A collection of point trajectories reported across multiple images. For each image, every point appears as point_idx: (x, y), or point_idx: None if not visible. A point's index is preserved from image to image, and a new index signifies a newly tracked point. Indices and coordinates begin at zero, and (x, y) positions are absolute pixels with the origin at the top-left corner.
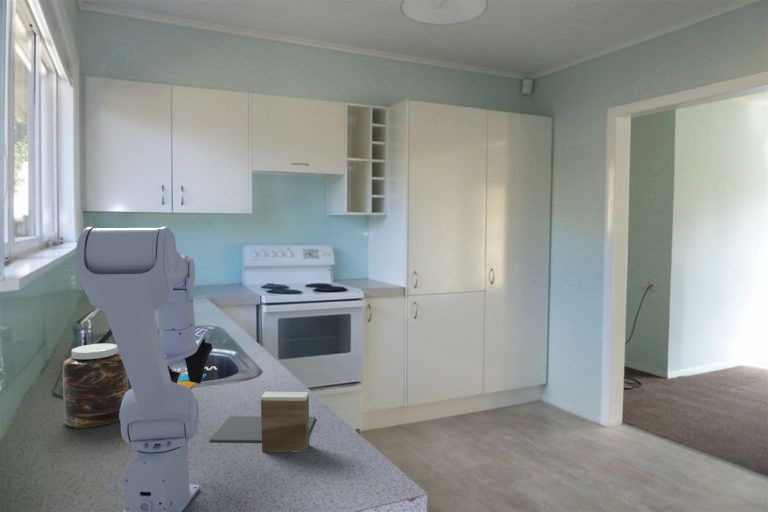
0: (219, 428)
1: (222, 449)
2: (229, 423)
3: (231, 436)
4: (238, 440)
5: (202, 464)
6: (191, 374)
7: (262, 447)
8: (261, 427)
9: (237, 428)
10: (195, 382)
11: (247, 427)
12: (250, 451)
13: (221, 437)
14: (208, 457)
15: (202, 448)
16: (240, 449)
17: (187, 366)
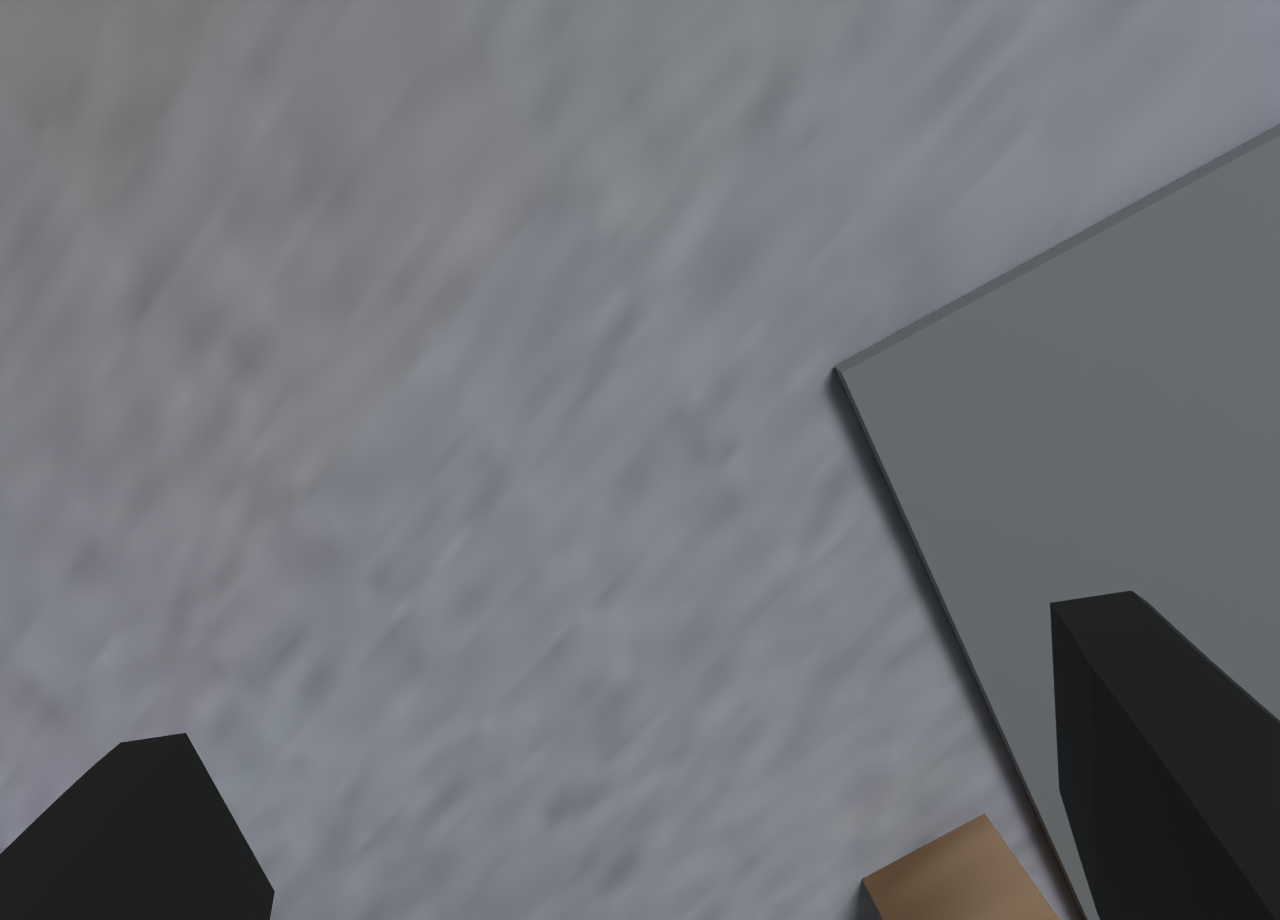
0: (1114, 230)
1: (752, 605)
2: (1264, 214)
3: (988, 497)
4: (945, 607)
5: (436, 703)
6: (1121, 801)
7: (877, 906)
8: (1259, 571)
9: (1173, 394)
10: (1058, 718)
11: (1224, 459)
12: (825, 813)
13: (930, 437)
14: (564, 635)
15: (681, 435)
16: (821, 725)
17: (1239, 893)
